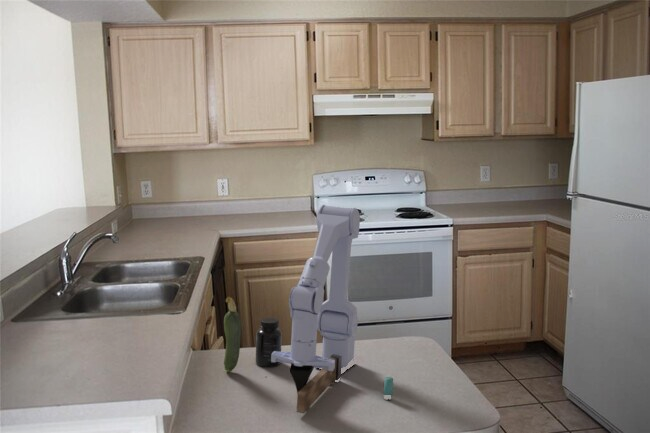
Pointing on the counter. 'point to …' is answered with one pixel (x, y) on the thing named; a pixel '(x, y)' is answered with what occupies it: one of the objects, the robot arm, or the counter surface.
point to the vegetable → (232, 336)
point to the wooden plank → (315, 388)
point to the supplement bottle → (268, 342)
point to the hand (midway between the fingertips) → (300, 395)
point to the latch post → (388, 386)
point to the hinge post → (337, 365)
